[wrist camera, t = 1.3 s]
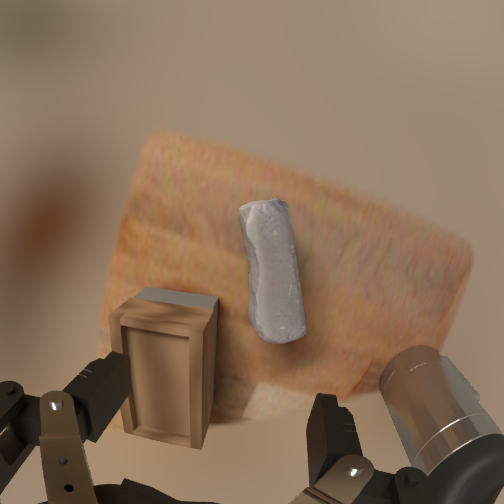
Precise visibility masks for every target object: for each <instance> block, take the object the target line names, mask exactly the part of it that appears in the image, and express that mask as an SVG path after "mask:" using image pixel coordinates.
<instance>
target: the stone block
mask: <svg viewBox="0 0 504 504" xmlns="http://www.w3.org/2000/svg"><path fill="white" fill-rule="evenodd" d="M239 223H240V226H241V230H242V234H243V237H244V246H245V250H246V253H247V257H248V261H249V267H250V271H249V278H248V279H249V282H248V285H249V295H250V297H249V320H250V323H251V325H252V326H253V328H254V329H255V331H256V332H257V333H258V335H259V337H260V338H261V339H263V340H264V341H266V342H267V343H280V344H281V343H287V342H290V341H293V340H296V339H299V338H301V337H303V336H305V334H306V332H307V327H306V319H305V311H304V304H303V298H302V291H301V285H300V279H299V269H298V262H297V257H296V253H295V241H294V234H293V228H292V222H291V216H290V210H289V206H288V203H287V202H285V201H282V200H280V199H279V198H274V199H271V200H259V201H253V202H250V203H248V204H245V205H242V206H241V207H240V208H239Z"/></svg>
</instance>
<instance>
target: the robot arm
mask: <svg viewBox="0 0 504 504" xmlns="http://www.w3.org/2000/svg"><path fill="white" fill-rule="evenodd" d="M130 389H131V370H130V357H129V356H128V355H125V354H122V353H118V352H115V351H112V352H111V353H110V354H109V355H108V356H107V357H106V358H105V359H101V358H99V359H97V360H95V361H92V362H90V363H89V364H88V365H87V366H86V367H85V368H84V370H82V371H81V372H80V373H79V375H77V376H76V377H75V378H74V379H73V380H72V381H71V382H70V383H69V384H68V385H67V386H66V387H65V388H64V389H63V390H62V391H56V390H55V391H49V392H47V393H45V394H43V395H42V397H35V396H30V395H26V394H24V390H23V387H22V386H21V385H20V384H19V383H17V382H14V381H4V382H1V383H0V433H1V432H2V431H3V430H4V428H5V427H6V428H7V429H6V430H5V431H4V432H3V433H2V434H1V436H0V495H1V493H2V492H3V490H4V489H5V487H6V486H7V485H8V483H9V482H10V480H11V479H12V477H13V476H14V475H15V473H16V472H17V471H18V469H19V468H20V467H21V465H22V464H23V462H24V461H25V460H26V458H27V457H28V456H29V454H30V453H31V452H32V450H33V449H34V447H35V446H40V453H41V462H42V469H43V476H44V482H45V488H46V494H47V499H48V501H46V502H42V503H39V504H219V503H214V502H188V501H187V502H186V501H179V500H176V499H174V498H172V497H170V496H168V495H166V494H164V493H162V492H160V491H158V490H156V489H154V488H153V487H150V486H147V485H143V484H140V483H137V482H134V481H131V480H129V479H126V478H124V480H123V482H122V484H121V485H118V484H103V485H96V486H94V483H93V480H92V476H91V473H90V469H89V465H88V462H87V458H86V454H85V450H84V446H83V443H84V442H85V441H86V439H88V440H90V441H92V442H94V443H96V442H97V440H98V439H99V437H100V436H101V434H102V433H103V432H104V430H105V429H106V427H107V426H108V424H109V423H110V421H111V420H112V419H113V417H114V416H115V414H116V413H117V411H118V410H119V408H120V407H121V406H122V404H123V403H124V401H125V400H126V398H127V397H128V395H129V392H130ZM380 391H381V394H382V396H383V399H384V401H385V403H386V405H387V408H388V410H389V413H390V415H391V417H392V420H393V422H394V425H395V427H396V429H397V432H398V434H399V436H400V438H401V441H402V444H403V446H404V449H405V451H406V454H407V456H408V458H409V461H410V463H411V466H412V467H404V468H401V469H400V470H399V471H397V473H396V474H391V473H386V472H382V471H378V470H376V469H374V466H373V464H372V463H371V461H370V460H368V459H367V458H365V457H363V454H362V450H361V446H360V442H359V438H358V435H357V432H356V427H355V423H354V419H353V415H352V414H351V413H350V412H349V411H348V409H347V408H346V407H339V406H338V402H337V397H336V395H332V394H322V393H318V394H317V396H316V398H315V401H314V404H313V407H312V410H311V413H310V416H309V419H308V423H307V429H306V436H307V452H308V468H309V484H310V485H309V486H310V488H309V487H307V488H306V489H304V490H303V491H302V492H301V493H300V494H299V495H298V496H296V497H295V498H294V499H293V500H292V501H291V502H290V503H289V504H494V503H495V501H496V499H497V497H498V495H499V493H500V492H501V490H502V488H503V487H504V434H503V433H502V432H501V430H500V429H499V427H498V426H497V425H496V423H495V422H494V421H493V419H492V418H491V417H490V416H489V414H488V413H487V412H486V411H485V409H484V408H483V407H482V405H481V404H480V403H479V399H480V395H479V394H478V392H477V391H476V390H475V389H474V387H473V386H472V385H471V384H470V382H469V381H468V380H467V379H466V378H465V377H464V375H463V374H462V373H461V372H460V371H459V370H458V368H457V367H456V366H455V365H454V364H453V363H452V361H451V360H450V359H449V358H448V357H447V356H441V355H440V354H439V352H438V351H437V350H435V349H433V348H431V347H427V346H419V347H414V348H411V349H408V350H406V351H404V352H402V353H401V354H399V355H398V356H397V357H395V358H394V359H393V360H392V361H391V362H390V363H389V364H388V366H387V367H386V369H385V370H384V372H383V374H382V377H381V381H380ZM0 504H1V499H0Z"/></svg>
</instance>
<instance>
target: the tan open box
mask: <svg viewBox="0 0 504 504" xmlns="http://www.w3.org/2000/svg"><path fill="white" fill-rule="evenodd" d="M213 321H214V309H209V308H201V307H193V306H186V305H179V304H172V303H165V302H158V301H152V300H145V299H139V298H133V297H131V298H129V299H128V300H127V301H126V302H125V303H123V304H122V305H121V306H120V307H119V308H117V309H116V310H115V311H114V312H113V313H111V314H110V315H109V325H110V336H111V346H112V351H115V352H118V353H122V354H125V355H128V356H129V357H130V370H131V389H130V392H129V395H128V397H127V398H126V400H125V401H124V403H123V404H122V406H121V407H120V409H121V415H122V420H123V426H124V431H125V433H129V434H132V435H136V436H140V437H144V438H148V439H152V440H156V441H161V442H165V443H169V444H174V445H179V446H185V447H189V448H195V449H200V450H201V449H202V446H203V443H204V439H205V436H206V432H207V429H208V425H209V422H210V394H211V366H212V342H213Z"/></svg>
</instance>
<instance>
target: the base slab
mask: <svg viewBox="0 0 504 504" xmlns="http://www.w3.org/2000/svg"><path fill="white" fill-rule="evenodd" d="M134 298H139V299H145V300H152V301H158V302H165V303H172V304H179V305H186V306H193V307H201V308H209V309H214V321H213V342H212V366H211V394H210V413H211V409H212V406H213V399H214V376H215V355H216V335H217V317H218V301H219V296H210V295H203V294H195V293H187V292H180V291H172V290H165V289H158V288H151V287H145V288H144V289H143V290H142V291H141V292H139V293H138V294H137V295H136V296H135V297H134Z"/></svg>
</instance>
